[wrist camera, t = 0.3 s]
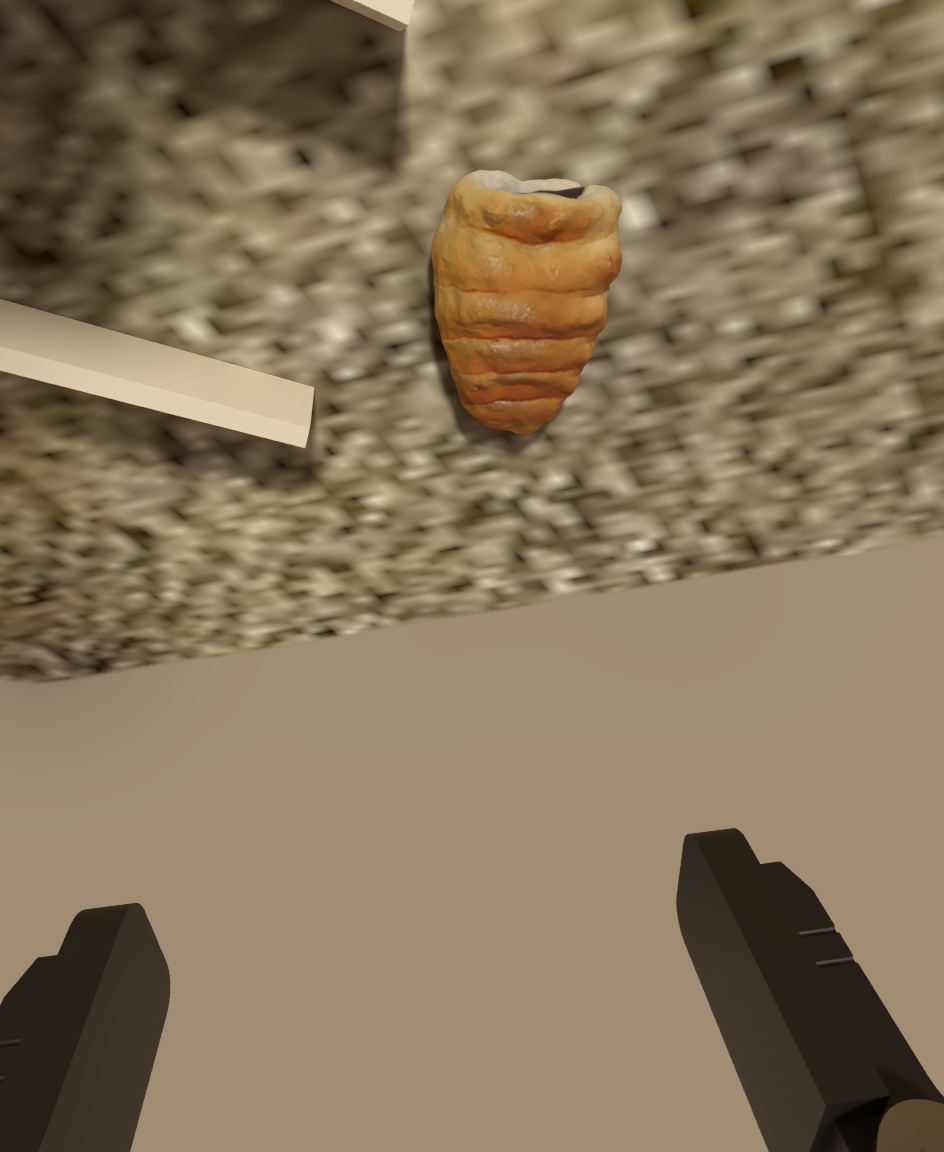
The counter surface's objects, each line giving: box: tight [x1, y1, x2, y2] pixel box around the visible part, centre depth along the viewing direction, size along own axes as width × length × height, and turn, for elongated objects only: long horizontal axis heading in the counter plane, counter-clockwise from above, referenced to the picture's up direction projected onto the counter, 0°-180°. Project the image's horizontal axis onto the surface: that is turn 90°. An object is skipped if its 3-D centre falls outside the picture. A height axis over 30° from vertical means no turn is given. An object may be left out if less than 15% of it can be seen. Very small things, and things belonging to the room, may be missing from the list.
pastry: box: [431, 170, 622, 435], centre depth 26 cm, size 9×7×4 cm
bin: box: [0, 0, 414, 448], centre depth 22 cm, size 14×13×4 cm
